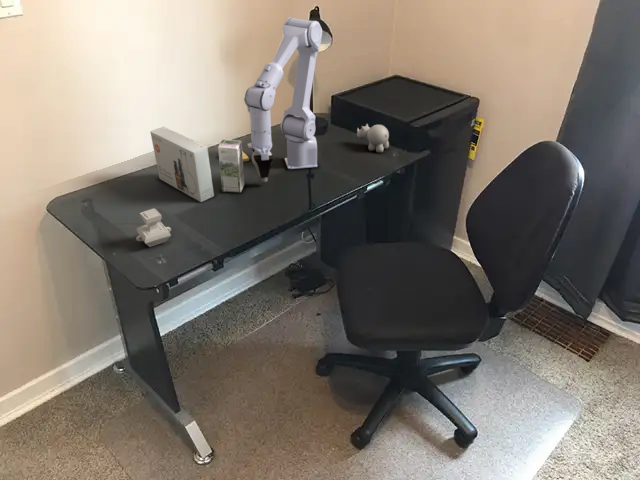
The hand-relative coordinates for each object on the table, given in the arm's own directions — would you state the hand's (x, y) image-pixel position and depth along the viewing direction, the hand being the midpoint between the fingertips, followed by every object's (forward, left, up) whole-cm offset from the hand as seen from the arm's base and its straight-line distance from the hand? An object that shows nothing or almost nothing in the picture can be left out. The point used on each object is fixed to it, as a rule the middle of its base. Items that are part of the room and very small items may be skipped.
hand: (263, 172), depth 167 cm
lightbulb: (0, 0, -4) cm, 4 cm away
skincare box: (+23, -3, -5) cm, 24 cm away
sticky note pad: (+7, -21, -4) cm, 23 cm away
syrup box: (+9, 0, -5) cm, 10 cm away
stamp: (+31, +25, -5) cm, 40 cm away
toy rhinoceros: (-40, -21, -5) cm, 45 cm away
